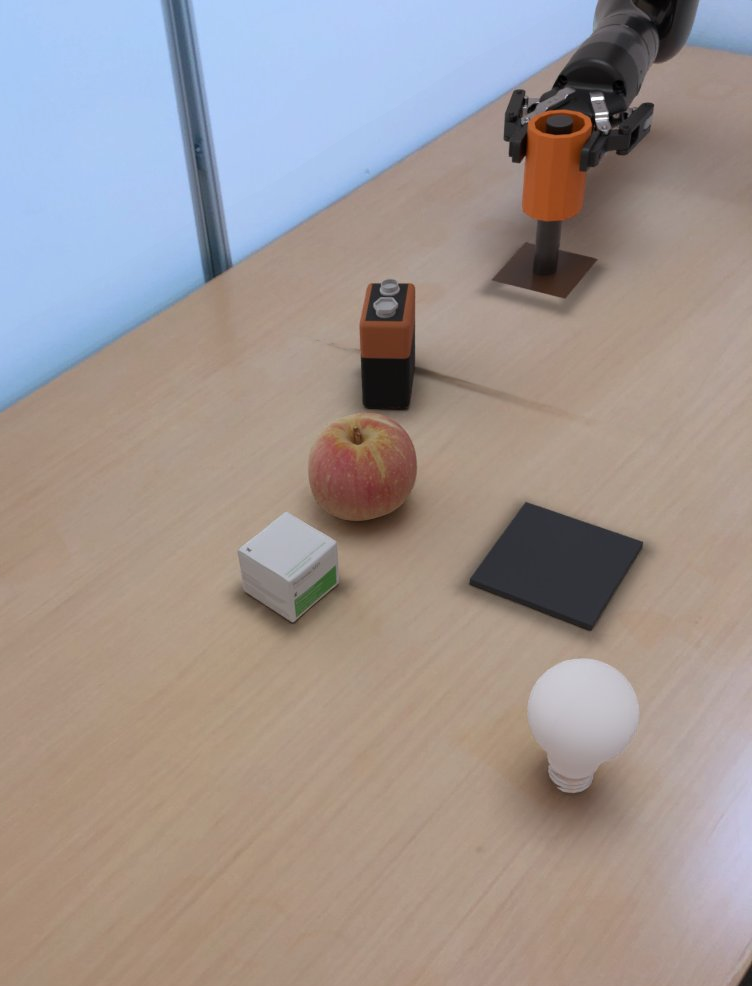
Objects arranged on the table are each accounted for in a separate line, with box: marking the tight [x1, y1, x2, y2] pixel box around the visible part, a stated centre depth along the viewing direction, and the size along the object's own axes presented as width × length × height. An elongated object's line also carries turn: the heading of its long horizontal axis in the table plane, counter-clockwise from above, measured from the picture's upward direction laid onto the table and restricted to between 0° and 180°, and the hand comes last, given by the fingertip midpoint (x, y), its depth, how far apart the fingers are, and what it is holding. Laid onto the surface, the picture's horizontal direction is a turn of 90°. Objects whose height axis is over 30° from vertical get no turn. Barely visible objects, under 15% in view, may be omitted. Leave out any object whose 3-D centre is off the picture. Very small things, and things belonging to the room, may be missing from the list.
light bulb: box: [526, 657, 640, 794], centre depth 69 cm, size 7×7×11 cm
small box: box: [237, 511, 340, 623], centre depth 85 cm, size 6×6×5 cm
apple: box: [307, 412, 418, 522], centre depth 90 cm, size 9×9×8 cm
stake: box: [491, 115, 599, 300], centre depth 106 cm, size 8×8×16 cm
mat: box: [469, 501, 644, 631], centre depth 86 cm, size 10×10×1 cm
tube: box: [521, 110, 592, 221], centre depth 103 cm, size 6×6×8 cm
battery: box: [358, 278, 416, 410], centre depth 99 cm, size 4×7×10 cm, turn 170°
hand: (549, 157), depth 100 cm, fingers closed on tube, 5 cm apart
